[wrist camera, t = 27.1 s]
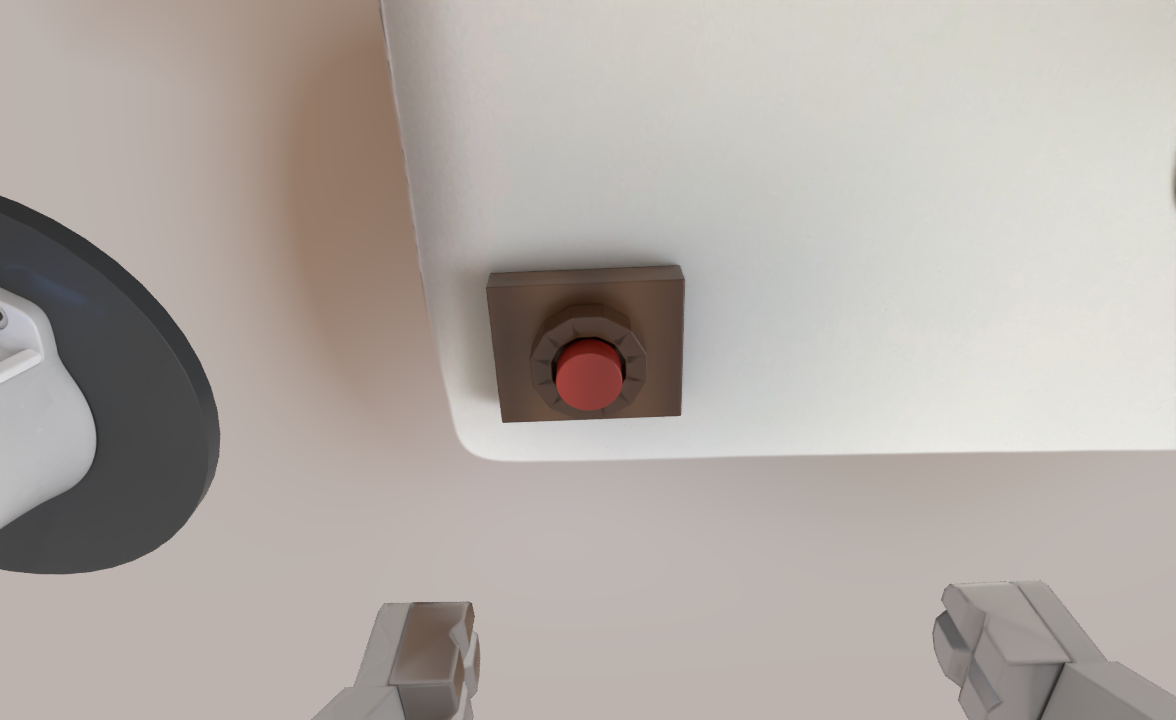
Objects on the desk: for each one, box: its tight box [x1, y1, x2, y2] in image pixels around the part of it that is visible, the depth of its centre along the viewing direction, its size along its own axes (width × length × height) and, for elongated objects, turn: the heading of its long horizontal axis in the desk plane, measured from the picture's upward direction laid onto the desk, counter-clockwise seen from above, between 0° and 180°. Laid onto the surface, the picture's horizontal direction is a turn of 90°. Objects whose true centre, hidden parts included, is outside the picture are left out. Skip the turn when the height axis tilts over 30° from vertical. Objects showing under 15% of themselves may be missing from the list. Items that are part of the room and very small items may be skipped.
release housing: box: [486, 266, 685, 423], centre depth 40 cm, size 11×9×4 cm
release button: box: [556, 339, 622, 410], centre depth 38 cm, size 4×4×2 cm
